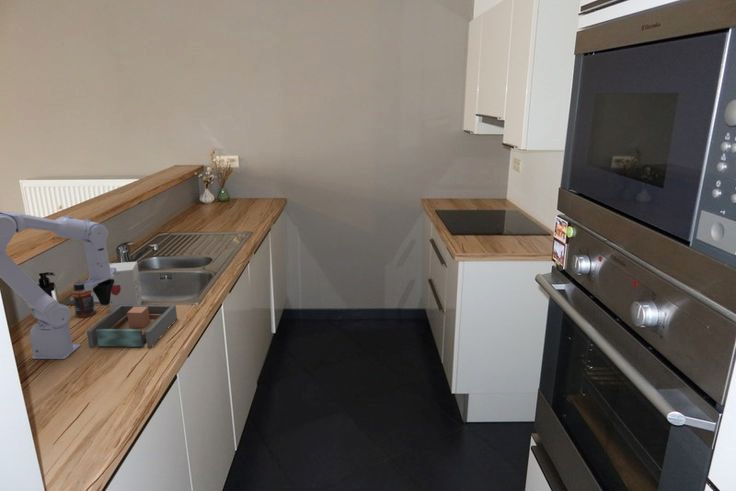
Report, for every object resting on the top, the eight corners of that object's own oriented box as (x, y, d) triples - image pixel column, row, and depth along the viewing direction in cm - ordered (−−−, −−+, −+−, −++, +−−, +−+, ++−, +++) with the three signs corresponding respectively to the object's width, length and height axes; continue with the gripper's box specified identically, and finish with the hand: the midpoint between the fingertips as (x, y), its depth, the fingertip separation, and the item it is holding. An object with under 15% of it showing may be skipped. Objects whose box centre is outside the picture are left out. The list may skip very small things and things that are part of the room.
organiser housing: (89, 347, 152) (86, 331, 151) (121, 318, 171) (119, 304, 169) (151, 347, 152) (149, 332, 150) (177, 319, 170) (175, 305, 168)
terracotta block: (129, 327, 161) (126, 312, 160) (136, 321, 166) (133, 306, 164) (143, 327, 161) (141, 312, 160) (150, 321, 166) (147, 306, 164)
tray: (98, 346, 152) (95, 330, 151) (126, 320, 168) (124, 306, 167) (142, 346, 152) (139, 330, 150) (166, 321, 168) (164, 306, 166)
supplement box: (110, 314, 175) (102, 271, 170) (115, 303, 183) (109, 263, 178) (139, 311, 177) (132, 269, 172) (143, 300, 185) (137, 260, 180)
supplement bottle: (100, 311, 177) (94, 280, 173) (87, 318, 171) (81, 286, 168) (85, 309, 178) (79, 278, 175) (71, 317, 172) (65, 285, 169)
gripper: (98, 270, 147) (105, 314, 151) (123, 254, 161) (129, 295, 165) (73, 269, 148) (82, 314, 152) (101, 254, 162) (107, 294, 166)
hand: (105, 304), depth 159 cm, fingers closed
